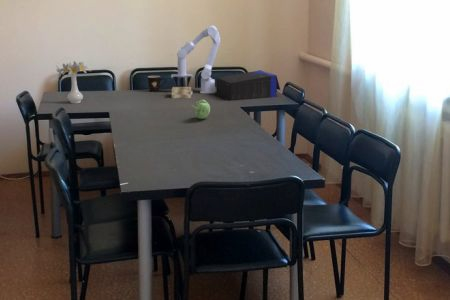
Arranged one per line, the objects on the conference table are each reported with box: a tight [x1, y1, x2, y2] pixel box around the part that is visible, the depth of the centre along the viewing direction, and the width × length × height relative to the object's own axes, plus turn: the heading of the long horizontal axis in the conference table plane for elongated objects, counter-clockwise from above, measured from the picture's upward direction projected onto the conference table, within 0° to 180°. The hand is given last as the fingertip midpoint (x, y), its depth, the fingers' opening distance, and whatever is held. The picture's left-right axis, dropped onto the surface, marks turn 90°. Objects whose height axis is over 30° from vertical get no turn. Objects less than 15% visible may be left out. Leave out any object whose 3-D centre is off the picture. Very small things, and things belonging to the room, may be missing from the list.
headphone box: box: [215, 69, 281, 102], centre depth 374 cm, size 25×35×14 cm
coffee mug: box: [147, 75, 167, 93], centre depth 390 cm, size 12×9×10 cm
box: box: [171, 86, 192, 99], centre depth 373 cm, size 12×12×5 cm
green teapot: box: [190, 99, 211, 120], centre depth 308 cm, size 12×11×11 cm
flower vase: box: [55, 61, 88, 104], centre depth 352 cm, size 13×18×25 cm
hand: (182, 88), depth 386 cm, fingers open, 6 cm apart
